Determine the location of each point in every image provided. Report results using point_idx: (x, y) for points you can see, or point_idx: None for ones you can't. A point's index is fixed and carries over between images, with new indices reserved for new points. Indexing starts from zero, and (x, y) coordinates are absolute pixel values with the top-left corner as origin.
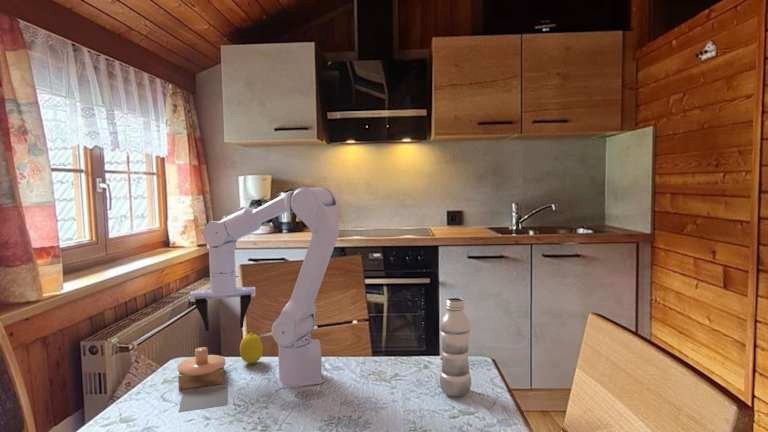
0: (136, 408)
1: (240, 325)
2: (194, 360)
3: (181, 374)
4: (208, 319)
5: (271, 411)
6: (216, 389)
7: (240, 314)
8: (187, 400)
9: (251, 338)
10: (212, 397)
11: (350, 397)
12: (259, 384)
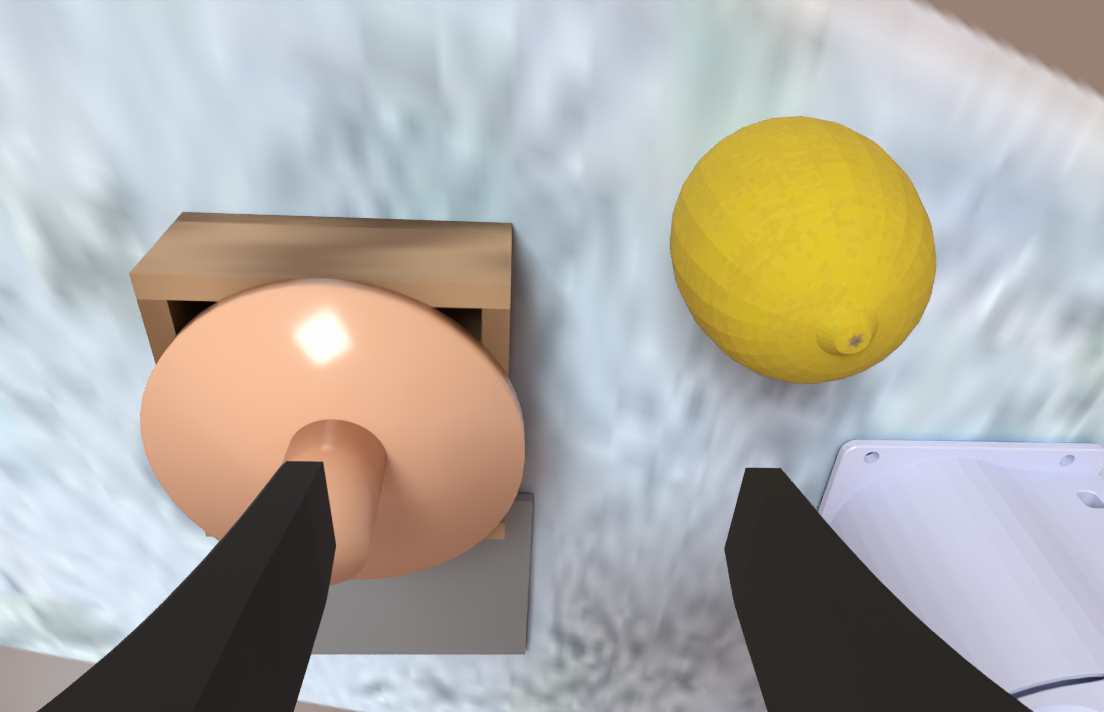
0: (66, 556)
1: (735, 581)
2: (259, 390)
3: None
4: (280, 544)
5: (696, 708)
6: None
7: (794, 658)
8: None
9: (821, 377)
10: (451, 585)
11: None
12: (713, 501)
